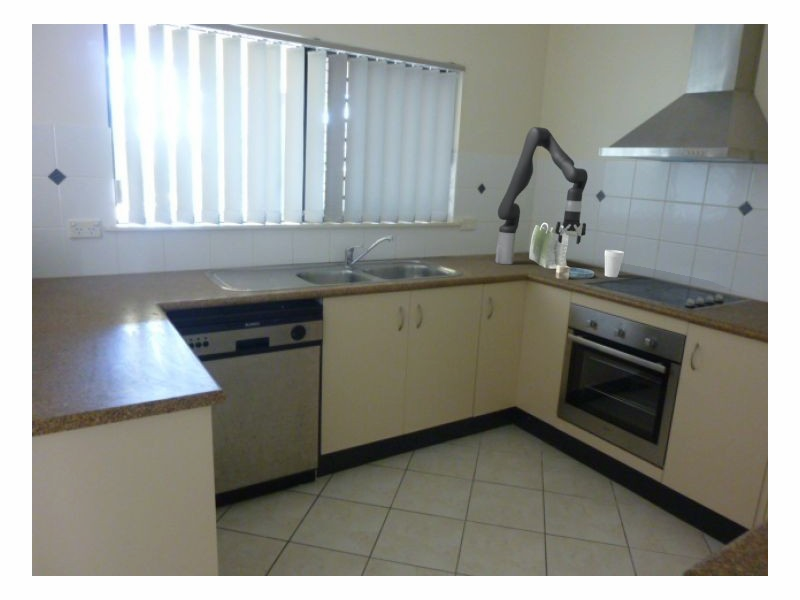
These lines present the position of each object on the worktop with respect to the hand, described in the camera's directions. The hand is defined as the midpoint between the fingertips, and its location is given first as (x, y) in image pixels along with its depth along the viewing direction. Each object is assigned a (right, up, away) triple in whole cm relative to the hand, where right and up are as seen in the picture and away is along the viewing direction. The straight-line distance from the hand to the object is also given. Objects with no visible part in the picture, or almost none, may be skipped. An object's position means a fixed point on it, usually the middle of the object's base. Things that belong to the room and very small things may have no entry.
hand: (568, 243), depth 280 cm
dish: (+8, -15, +13) cm, 21 cm away
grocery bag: (+1, -7, +44) cm, 45 cm away
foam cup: (+27, -16, +16) cm, 35 cm away
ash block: (-3, -17, +2) cm, 18 cm away
